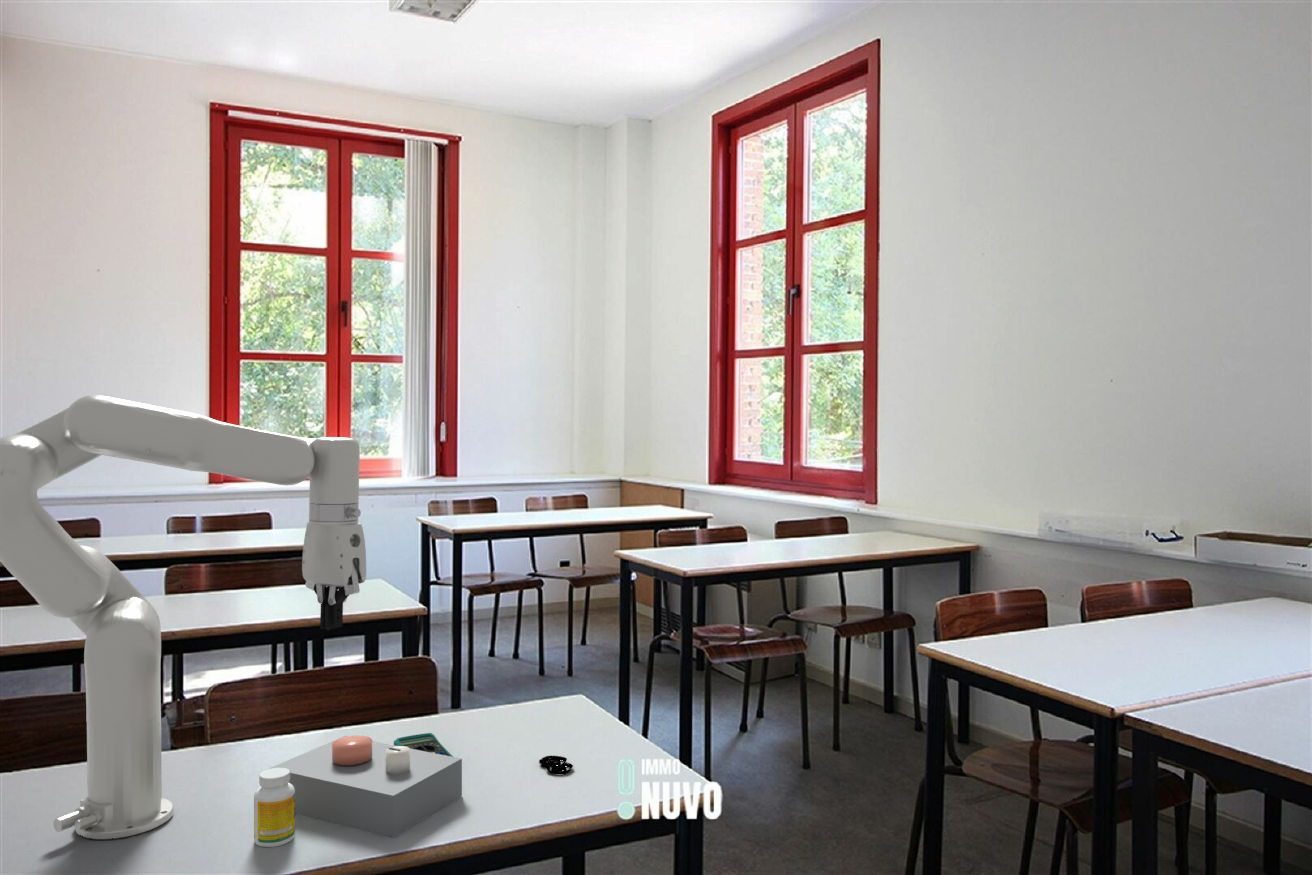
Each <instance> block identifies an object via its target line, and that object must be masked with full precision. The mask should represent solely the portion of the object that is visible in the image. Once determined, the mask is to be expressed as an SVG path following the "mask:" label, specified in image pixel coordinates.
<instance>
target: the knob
mask: <svg viewBox="0 0 1312 875" xmlns="http://www.w3.org/2000/svg"><path fill="white" fill-rule="evenodd" d="M409 770H410V748H409V747H406V746H395V747H389V748H388V749H387V750H386V772H387V773H389V774H401V773H405V772H407V771H409Z"/></svg>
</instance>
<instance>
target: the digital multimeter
mask: <svg viewBox="0 0 1312 875" xmlns="http://www.w3.org/2000/svg"><path fill="white" fill-rule="evenodd" d="M393 745H395V746H406V747H409V748H410V749H415V750H420V751H425V752H430V753H436V754H441V755H446V756H451V757H454V755H452V754H451V753H450V752H449V750H448V749H446V748H445V747H444V745H443V744H442V743H441V742H440V741H439V740H438V738H437V737H436V736H435V734H433V733H432V732H428V733H427V732H426V733H419V734H413V735H407V736H402V737H397V738H396V739H395V740H394V741H393Z"/></svg>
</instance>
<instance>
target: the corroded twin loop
mask: <svg viewBox="0 0 1312 875" xmlns="http://www.w3.org/2000/svg"><path fill="white" fill-rule="evenodd" d="M560 760H563V761H565V762H566V763H565V762H563V761H560ZM567 760H568V758H567V757H565V756H561V755H560V756H559V755H545V756H542V757H541V759H539V760H538V763H539V764H540V767H542V768H544V769H545V770H546V772H547V773H549V774H551V775H554V774H564V775H566V773H567V774H568V773H570V772H571V770H572V769H573V767H574V764H572V763H569V762H567ZM556 765H558V766H556ZM565 766H567V767H570V768H567V767H565ZM550 767H551V768H550ZM562 770H564V771H562ZM569 771H570V772H569Z"/></svg>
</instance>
